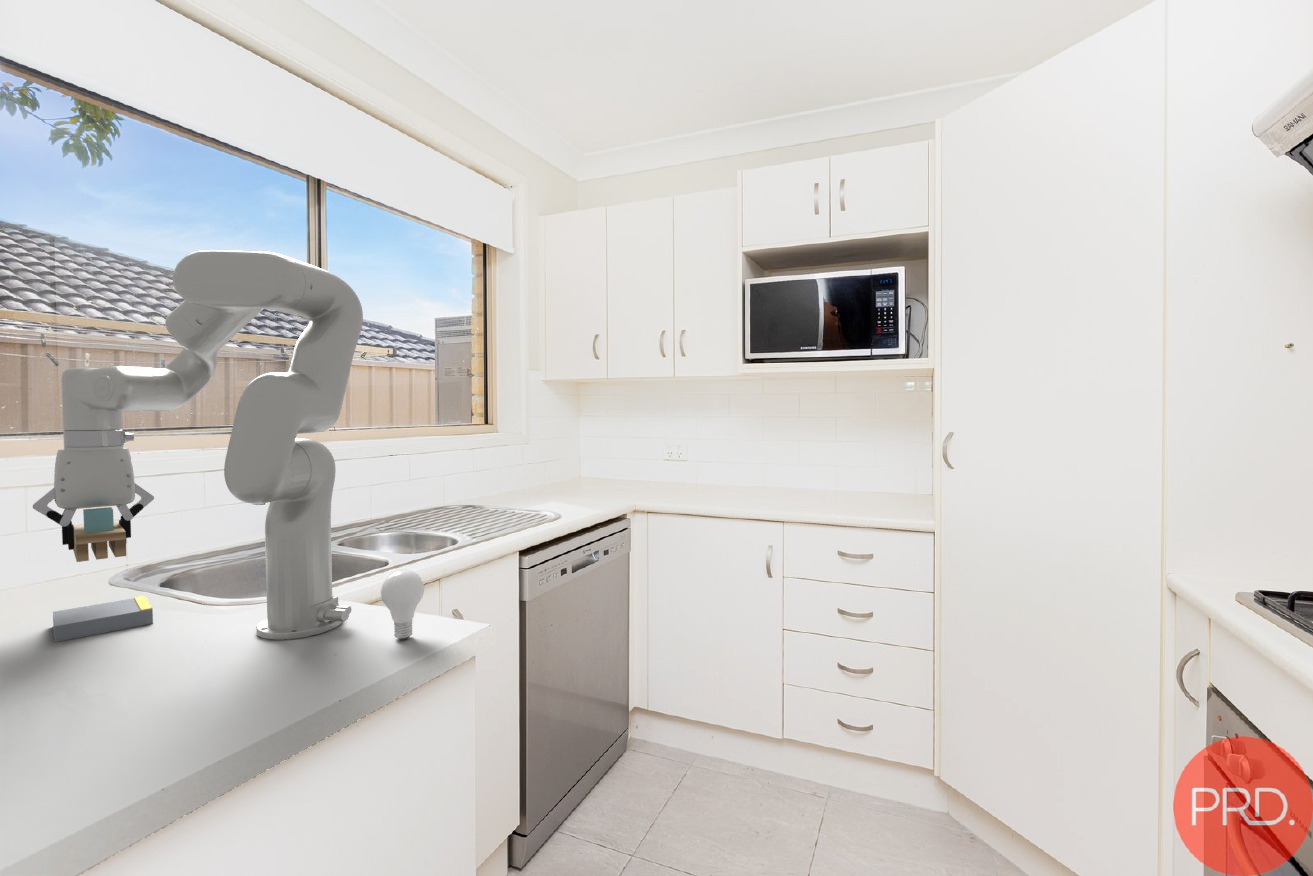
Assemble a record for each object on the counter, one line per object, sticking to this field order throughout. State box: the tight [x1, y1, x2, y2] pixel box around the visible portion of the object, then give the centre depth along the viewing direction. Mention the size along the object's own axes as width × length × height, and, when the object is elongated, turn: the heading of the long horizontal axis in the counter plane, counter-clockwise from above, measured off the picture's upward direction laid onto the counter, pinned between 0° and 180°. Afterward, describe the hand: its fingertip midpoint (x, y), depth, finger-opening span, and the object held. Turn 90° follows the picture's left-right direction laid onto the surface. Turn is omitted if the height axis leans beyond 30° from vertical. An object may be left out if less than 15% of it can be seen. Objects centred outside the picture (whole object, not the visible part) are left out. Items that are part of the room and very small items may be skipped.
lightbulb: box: [380, 569, 425, 640], centre depth 98 cm, size 6×6×11 cm
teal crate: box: [82, 506, 115, 533], centre depth 103 cm, size 4×4×4 cm
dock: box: [52, 595, 154, 643], centre depth 105 cm, size 10×12×3 cm
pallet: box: [73, 521, 127, 563], centre depth 104 cm, size 12×6×4 cm, turn 45°
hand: (97, 544), depth 106 cm, fingers closed on pallet, 6 cm apart
